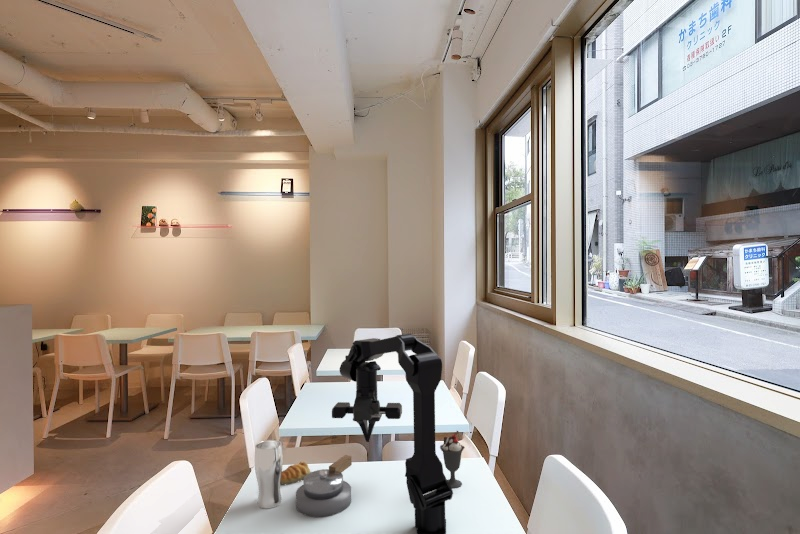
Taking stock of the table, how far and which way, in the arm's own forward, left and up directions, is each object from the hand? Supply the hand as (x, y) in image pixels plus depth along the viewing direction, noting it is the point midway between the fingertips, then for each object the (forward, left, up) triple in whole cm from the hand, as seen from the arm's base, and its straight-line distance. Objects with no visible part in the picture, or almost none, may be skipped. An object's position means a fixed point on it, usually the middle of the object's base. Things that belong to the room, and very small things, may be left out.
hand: (368, 441), depth 129 cm
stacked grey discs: (+10, +10, -12) cm, 19 cm away
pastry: (+22, -3, -12) cm, 25 cm away
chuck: (+9, +7, -9) cm, 14 cm away
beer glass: (+24, +11, -12) cm, 29 cm away
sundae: (-23, -2, -12) cm, 26 cm away
